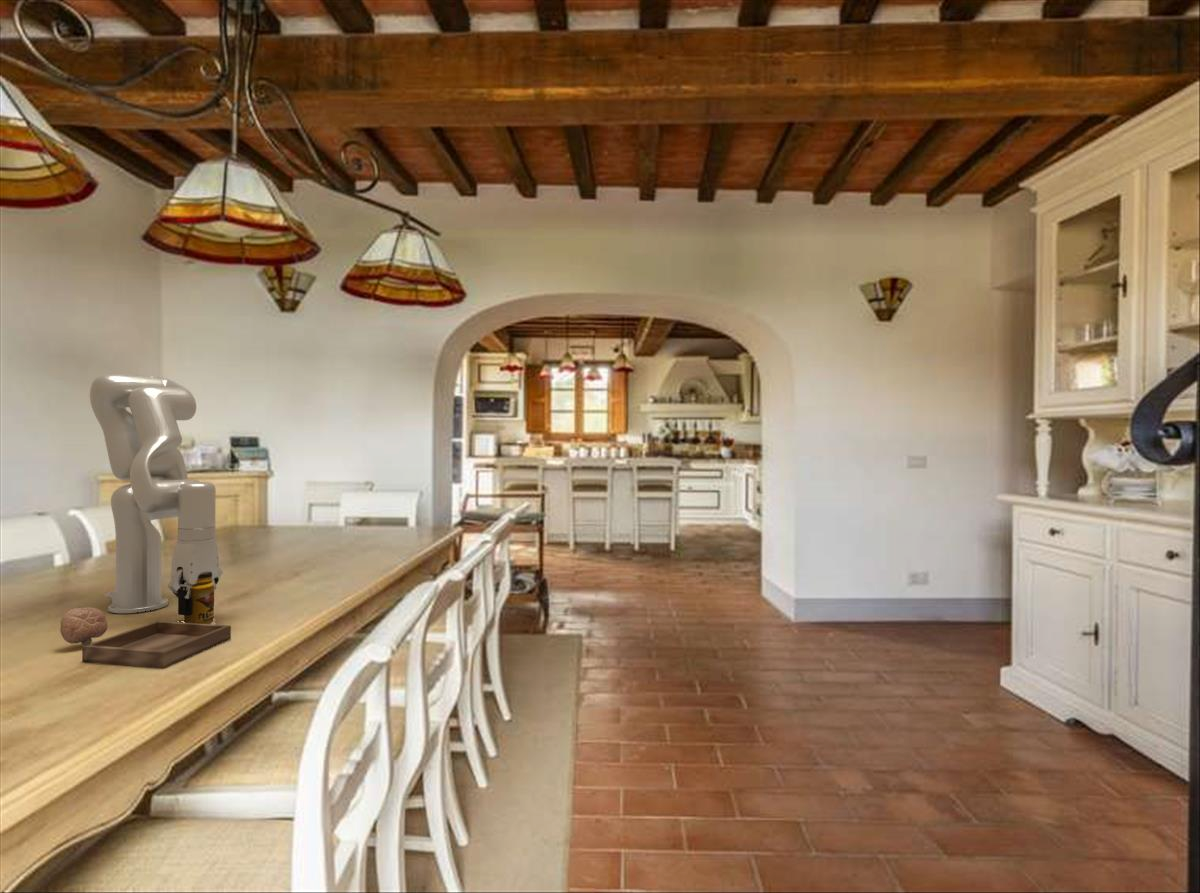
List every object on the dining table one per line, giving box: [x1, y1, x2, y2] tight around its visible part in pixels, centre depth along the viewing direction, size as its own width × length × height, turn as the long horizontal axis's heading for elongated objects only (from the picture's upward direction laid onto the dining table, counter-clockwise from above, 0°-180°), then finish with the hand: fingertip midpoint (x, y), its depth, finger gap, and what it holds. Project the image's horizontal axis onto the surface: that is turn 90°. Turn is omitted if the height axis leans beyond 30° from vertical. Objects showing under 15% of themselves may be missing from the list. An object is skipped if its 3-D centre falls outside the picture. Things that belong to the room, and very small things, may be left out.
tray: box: [81, 620, 232, 669], centre depth 136 cm, size 18×18×3 cm
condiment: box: [172, 572, 217, 625], centre depth 154 cm, size 7×8×12 cm
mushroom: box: [59, 606, 108, 646], centre depth 137 cm, size 8×6×8 cm
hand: (196, 610), depth 155 cm, fingers closed on condiment, 6 cm apart
